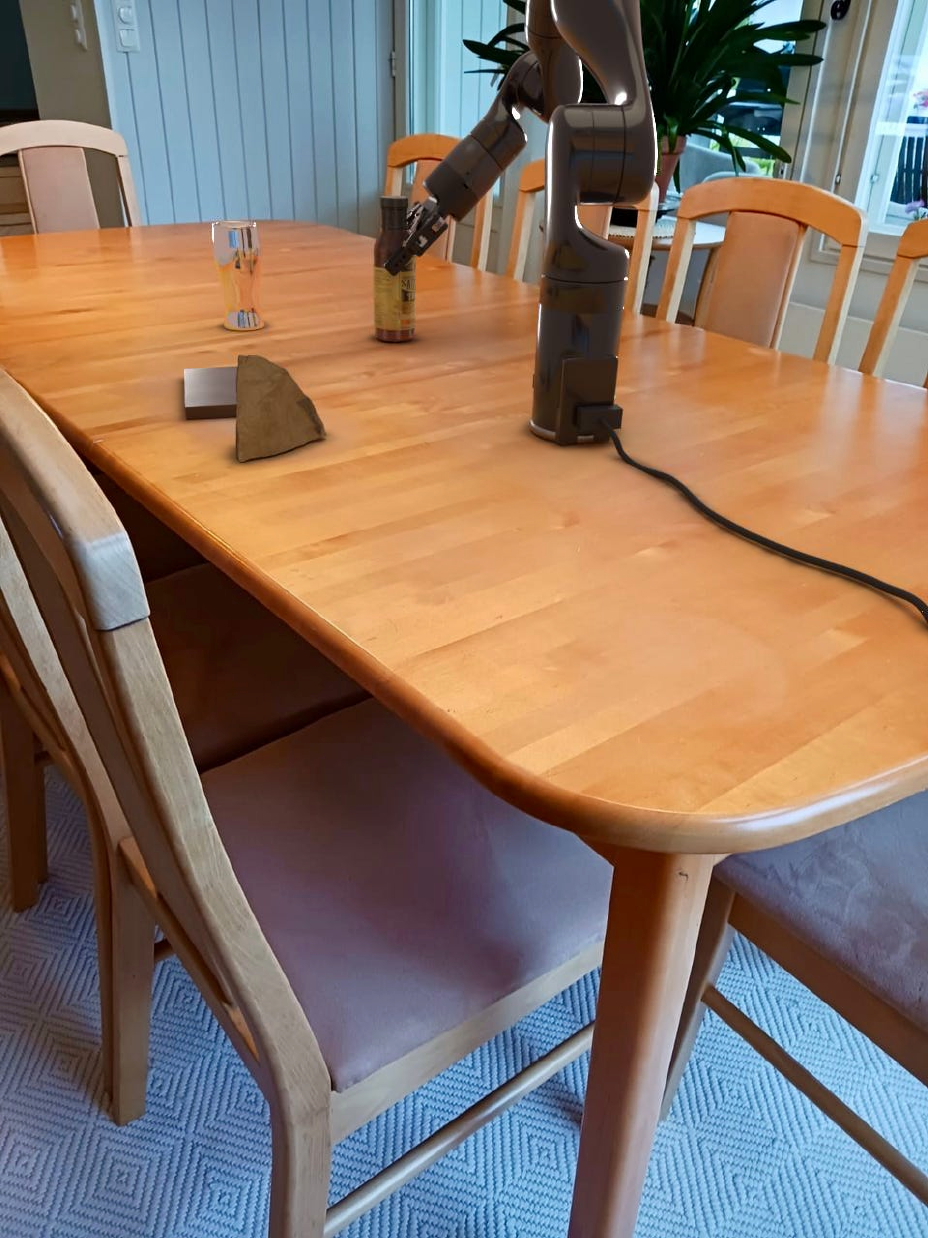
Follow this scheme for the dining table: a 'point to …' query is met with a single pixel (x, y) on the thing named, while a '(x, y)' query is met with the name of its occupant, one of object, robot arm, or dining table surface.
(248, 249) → the beer glass
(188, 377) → the metal block
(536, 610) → the dining table surface
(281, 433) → the rock
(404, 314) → the sauce bottle
